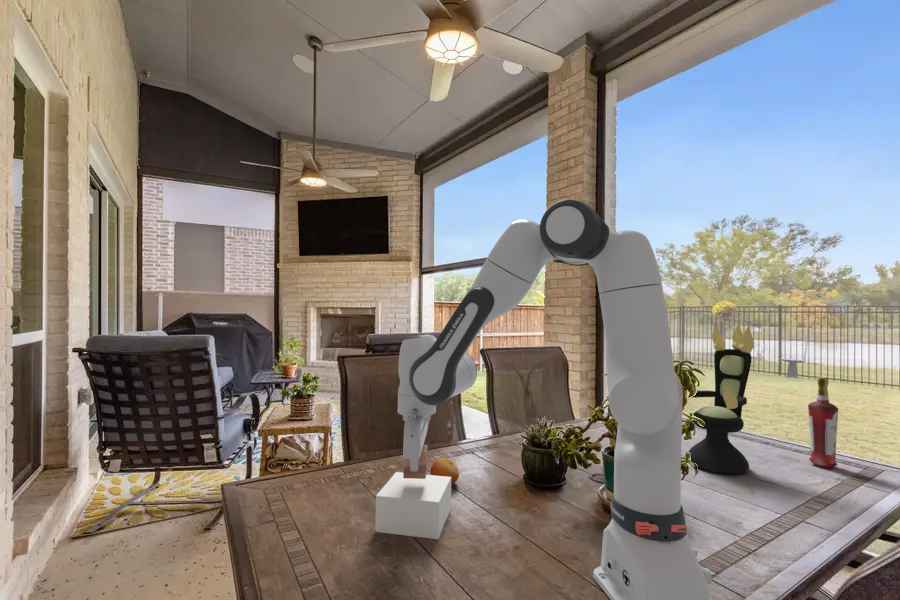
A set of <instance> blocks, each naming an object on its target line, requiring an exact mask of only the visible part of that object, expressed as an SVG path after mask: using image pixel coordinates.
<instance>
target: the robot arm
mask: <svg viewBox="0 0 900 600" xmlns="http://www.w3.org/2000/svg"><path fill="white" fill-rule="evenodd" d="M551 261H553V262H556V263H560V264H561V263H562V264H566V265H570V266H573V267H574V266H575V267H576V266H577V267H583V266H588V265H590V266H591V268H592V269H593V271H594V274H595V277H596V283H597V289H598V294H599V296H598V297H599V302H600V309H601V317H602V321H603V322H602V323H603V327H604V335H605V336H604V337H605V362H606V363H605V364H606V377H607V391H608V393H607V394H608V406H609V410H610V413H611V415H612V418H613V419H614V421H616V423H617V429H616V430H617V432H616V440H615V445H614V453H613V454H614V457H613V458H614V459H613V462H614V463H613V465H614V466H613V467H614V469H613V493H612V495H611V499H610V500H611V501H610V515H611V521H610V522H609V524H608V525H607V526H606V527H605V528H604V529H603V532H602V533H603V534H602V545H601V546H602V547H601V556H600V557H601V560H600V566H598V567H596V568H594V570H593V572H592V574H593V575H592V578H593V579H594V581H595V582H596V583H597V585H598V586H599V587H600V588H601V590H603V592H604V593H605V594H606V596H607V597H608V598H609V599H610V600H713V598H712V597H711V592H710V588H709V585H711V584H712V582H713V578H712V573H711V570H710V569H709V568H708V567H702V566H701V565H700V563H699V561H698V551H697V549H696V548H695V547H692V546H691V542H690V540H689V538H688V537H687V533H688V530H687V527H688V526H687V524H686V523H687V521H686V516H685V514H684V507H683V505H682V504H681V501H682V497H681V495H682V494H681V493H682V490H681V489H682V487H681V486H682V485H681V484H682V483H681V481H682V479H681V478H682V477H681V476H682V475H681V474H682V470H681V469H682V436H683V435H682V434H683V403H684V402H683V389H682V384H681V381H682V380H681V379H680V377H679V376H678V374H677V373H676V371H675V363H674V356H673V349H672V339H671V328H670V322H669V317H668V311H667V306H666V305H667V304H666V300H665V292H664V289H663V288H664V287H663V282H662V277H661V273H660V269H659V268H660V267H659V264H658V261H657V258H656V255H655V253H654V250H653V247H652V245H651V242H650V240H649V239H648V237H647V236H646V235H644V234H643V233H641V232H639V231H635V230H620V231H610V228H609V225H608V224H607V223H606V222H605V221H604V220H603V219H602V218H601V216H599V214H598V213H597V211H595V210H594V208H592V207H591V205H588V204H587V203H586V202H583V201H581V200H578V199H572V198H571V199H562V200H560V201H556V202H555V203H554V204H552V205H551V206H549V207H548V208H547V209H546V211H545V212H544V213H543V215H542V217H541V220H540V223H537V222H535V221H532V220H529V219H518V220H515V221H513V222H512V223H511V224H510V225H508V227H507V229H505V231H503V233H502V234H501V236H500V237H499V238H498V240H497V241H496V243H495V245H494V246H493V248H492V249H491V250H490V252H489V254H488V255H487V258H486V259H485V261H484V263H483V264H482V267H481V269H480V271H479V272H478V274H477V276H476V277H475V279H474V281H473V283H472V284H471V286H470V288H469V289H468V291H467V292H466V294H465V296H464V298H463V299H462V300H461V301H460V303H459V304H458V306H457V307H456V309H455V311H454V312H453V313H452V315H451V316H450V318H449V319H448V321H447V323H446V325H445V326H444V327H443V329H442V331H441V332H440V334H439V335H438V337H436V336H435V335H433V334H421V335H414V336H408V337H406V338H404V340H402V342H401V345H400V348H399V355H398V372H397V373H398V378H399V386H398V389H397V413H398V414H399V415H400V416H402V420H403V421H404V426H403V427H404V428H403V446H402V454H403V459H404V458H406V459H409V460H410V471H415V472H416V471H418V468H419V458H420V456H421V452H422V448H423V445H425V440H426V437H427V433H428V428H429V423H430V421H431V416H432V415H434V414H436V413H437V406H439V405H441V404H443V403H445V402H446V401H448V400H449V399H450V398H453V397H455V396H457V395H459V394H461V393H463V392H466V391H467V390H469V389H470V388H471V387H472V386H473V385H474V384H475V382H476V379H477V376H478V368H477V365H476V362H475V361H474V359H473V358H472V356H471V355H470V354H468V350H469V349H470V347H471V346H472V345H473V342H474V341H475V339H476V338H477V336H478V335H479V334H480V332H481V331H482V330H483V329H484V327H486V326H487V325H488V324H489V323H490V322H491V323H492V321H494V320H495V319H497V318H500V316H504V315H505V314H507V313H509V312H511V311H513V310H514V309H515V308H516V307H517V306H518V305H519V304H520V303H521V301H522V300H524V298H525V297H526V295H527V294H528V293H529V291H530V290H531V288H532V286H533V283H535V280H537V277H538V275H539V273H540V272H541V270H542V269H543V268H544V267H545V265H547V264H548V263H549V262H551ZM680 380H681V381H680Z"/></svg>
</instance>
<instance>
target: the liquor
mask: <svg viewBox="0 0 900 600" xmlns="http://www.w3.org/2000/svg"><path fill="white" fill-rule="evenodd" d="M816 380H817V386H818V388H817V396H816V397H817V398H816V401H813V402H810V403H809V404H807V408H808V424H809V425H808V426H809V440H810V441H809V442H810V443H809V445H810V457H809V458H808V460H809V461H810V462H811V463H812V465H813V466H816V467H818V468H823V469H833V468H834V467H836V466H838V462H837V460H836V458H837V457H836V454H837V451H836V450H837V435H838V434H837V433H838V422H839V421H838V419H839V418H838V416H839V408H838V407H837V406H836V405H835V404H833V403H831V402H830V398H829V391H828V387H829V378H828V377H824V376H823V377H822V376H817V379H816Z"/></svg>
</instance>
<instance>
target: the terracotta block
mask: <svg viewBox="0 0 900 600" xmlns="http://www.w3.org/2000/svg"><path fill="white" fill-rule="evenodd" d="M428 450H429V449H428V444H424V445H423V448H422V452H421V456H420V458H419V468H418V471H416V472H415V471H410V460H409V459H406V458H404V457H403V467H402V468H403V469H402V470H403V471H402V473H403V478H414V479H426V475H428V474H427V473H428Z"/></svg>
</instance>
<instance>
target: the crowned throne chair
mask: <svg viewBox="0 0 900 600" xmlns="http://www.w3.org/2000/svg"><path fill="white" fill-rule="evenodd" d="M731 337H732V343H731V347H732V348H726V344H727V343H726V341H725V339H724V336H722V335H721V333H720V332H719V329H718V328H717V326H716V325H714V326H713V331H712V335H711V339H712V343H713V348H714V350H715V352H714V355H713V356H714V357H713V358H714V359H713V361H714V389H715V390H714V391H713V390H696V391H697V393H696V395H695V396H693V397H692V398H714V405H707V406H703V407H701V408H700V409H698V410H696V411H695V412H693V414H692V415H694V416H696V417H698V418H700V419H702V420H703V421H704V422H705V426H704V427H702V426H700V425H699V424H698V423H697V421H695V420H692V422H693V424H694V425H695V426H697V427H698V428H700V429H702V430H706V435H705V437H704V438H703V439H702V440H701V441H699V442H697V443H695V444H694V445H693V446H692V447H690V448H689V450H688V451H687V453H688V452H690V453H691V461H692V462H694V463H696V464H697V465H698V467H697V468H699V469H702V470H704V471H707V472H708V471H709V472H713V473H717V474H724V475H740V474H745V473H746V472H747V471H749V470H750V464H749V461H748V459H746V457H745V456H744V454H743V453H742V452H741V451H740V450H739V449H738V448H737V447H735V446H734V445H733V444H732V442H730V439H729V434H730V433H731V434H732V433H738V432H740V431H742V430H743V429H744V426H745V423H744V422H745V421H744V420H743V418H742V411H743V406H745V405H747V404H748V398H747V397H746V396H745V393H746V387H747V383H748V380H749V379H748V378H749V375H750V372H751V371H750V370H751V366H752V365H751V364H752V354H751V353H752V351H753V349H754V348H755V342H754V338H753V335H752V333H751V327H750V325H747V327H746V329H745V330H744V331H743V332H742V330H741V326H740V324H739V323H737V325H736V327H735V329H734V330H733V333H732V336H731Z"/></svg>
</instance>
